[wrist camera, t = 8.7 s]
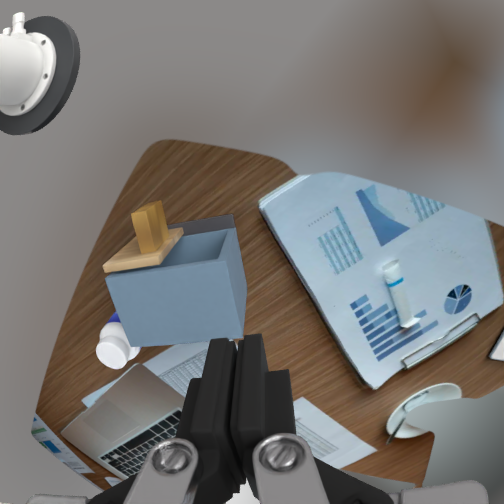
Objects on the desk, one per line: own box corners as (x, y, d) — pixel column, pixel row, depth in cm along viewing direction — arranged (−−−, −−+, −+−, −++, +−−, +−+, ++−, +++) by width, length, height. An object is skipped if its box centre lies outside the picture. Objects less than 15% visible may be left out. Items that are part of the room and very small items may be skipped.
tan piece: (128, 204, 36) (90, 225, 27) (175, 193, 36) (146, 213, 27) (138, 241, 38) (104, 273, 29) (183, 233, 38) (160, 264, 28)
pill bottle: (157, 304, 42) (134, 346, 33) (152, 335, 44) (130, 379, 34) (121, 292, 41) (90, 330, 32) (118, 324, 43) (90, 364, 34)
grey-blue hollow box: (138, 230, 38) (99, 263, 28) (232, 213, 37) (222, 242, 27) (158, 299, 42) (130, 347, 31) (247, 287, 41) (242, 337, 30)
